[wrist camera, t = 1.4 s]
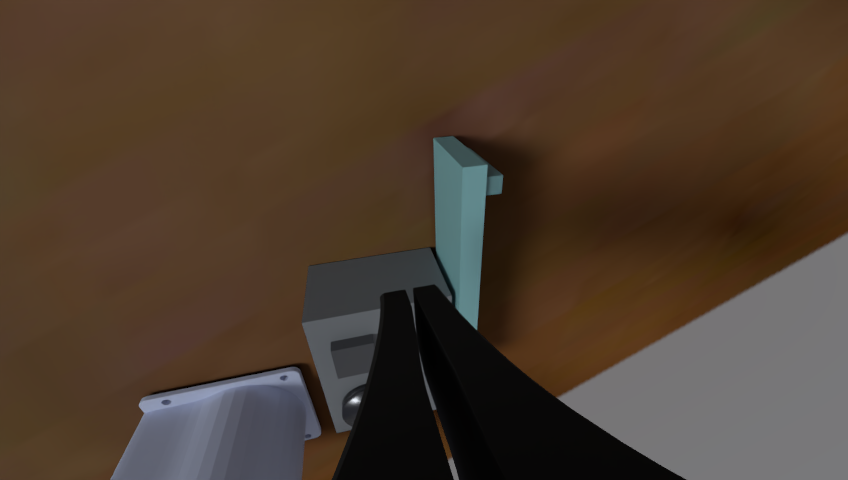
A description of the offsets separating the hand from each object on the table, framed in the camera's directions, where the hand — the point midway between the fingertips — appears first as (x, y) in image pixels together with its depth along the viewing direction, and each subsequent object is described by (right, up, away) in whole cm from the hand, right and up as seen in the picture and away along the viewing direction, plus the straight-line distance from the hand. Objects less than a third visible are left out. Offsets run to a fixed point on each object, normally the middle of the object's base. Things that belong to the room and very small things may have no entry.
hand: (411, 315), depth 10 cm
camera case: (-3, -3, +12) cm, 13 cm away
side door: (+2, +1, +11) cm, 11 cm away
